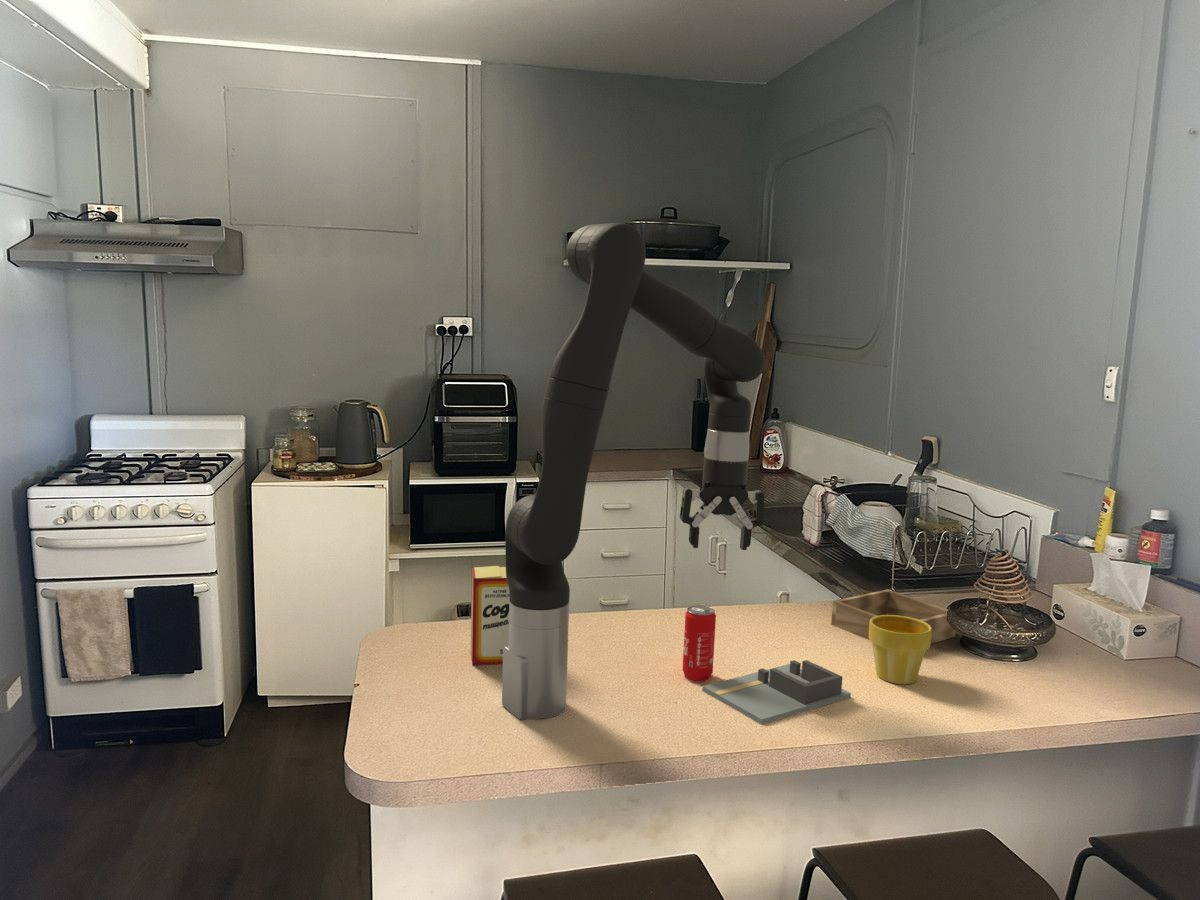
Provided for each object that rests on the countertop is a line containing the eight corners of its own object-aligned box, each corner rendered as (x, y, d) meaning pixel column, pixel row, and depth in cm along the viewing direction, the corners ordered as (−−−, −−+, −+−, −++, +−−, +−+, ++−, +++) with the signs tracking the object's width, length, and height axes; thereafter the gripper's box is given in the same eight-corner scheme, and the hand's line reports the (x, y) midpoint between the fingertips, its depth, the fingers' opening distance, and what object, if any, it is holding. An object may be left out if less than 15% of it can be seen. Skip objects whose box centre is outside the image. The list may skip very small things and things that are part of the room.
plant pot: (873, 661, 165) (878, 609, 163) (932, 674, 160) (937, 621, 158) (858, 679, 156) (862, 625, 155) (920, 694, 151) (925, 638, 149)
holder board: (761, 724, 138) (762, 700, 137) (702, 690, 149) (703, 668, 148) (850, 697, 149) (852, 675, 148) (789, 668, 160) (790, 647, 159)
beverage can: (702, 685, 151) (706, 617, 149) (676, 677, 154) (679, 609, 152) (717, 676, 155) (721, 609, 153) (692, 668, 158) (695, 602, 157)
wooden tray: (899, 652, 170) (901, 626, 169) (831, 624, 184) (832, 600, 183) (955, 636, 179) (957, 612, 178) (885, 611, 193) (887, 589, 192)
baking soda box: (522, 649, 164) (524, 564, 162) (526, 663, 158) (528, 575, 156) (470, 651, 163) (471, 565, 160) (472, 665, 156) (473, 576, 154)
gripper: (689, 457, 150) (682, 552, 152) (772, 461, 151) (764, 555, 153) (681, 451, 157) (675, 541, 159) (761, 454, 158) (753, 544, 161)
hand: (719, 548), depth 156 cm, fingers open, 8 cm apart
